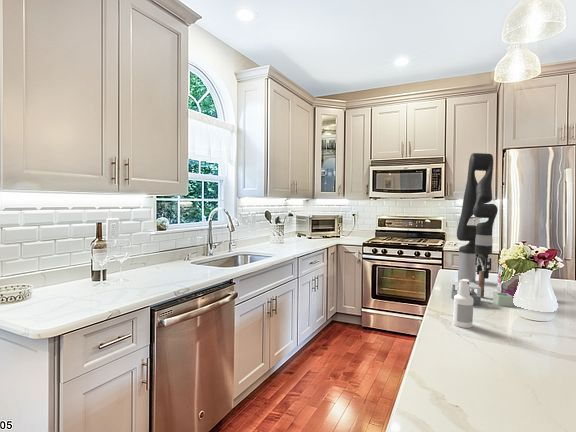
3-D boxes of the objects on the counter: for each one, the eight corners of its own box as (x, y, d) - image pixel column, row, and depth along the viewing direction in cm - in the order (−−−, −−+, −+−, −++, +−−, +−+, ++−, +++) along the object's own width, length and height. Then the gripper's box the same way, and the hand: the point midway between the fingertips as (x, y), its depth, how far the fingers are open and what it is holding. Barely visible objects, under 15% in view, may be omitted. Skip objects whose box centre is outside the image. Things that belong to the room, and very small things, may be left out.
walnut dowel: (477, 296, 179) (478, 270, 178) (482, 296, 178) (483, 271, 178) (479, 297, 176) (480, 271, 176) (484, 298, 176) (485, 272, 175)
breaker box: (451, 297, 176) (451, 281, 175) (472, 298, 174) (473, 282, 174) (457, 303, 166) (458, 286, 166) (480, 305, 165) (481, 287, 164)
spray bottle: (464, 329, 135) (466, 282, 134) (449, 323, 141) (451, 278, 140) (476, 326, 138) (478, 280, 137) (460, 320, 144) (462, 277, 143)
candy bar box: (501, 296, 179) (502, 264, 178) (496, 293, 184) (498, 262, 183) (524, 297, 178) (526, 265, 177) (519, 294, 183) (521, 263, 181)
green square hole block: (493, 301, 170) (493, 292, 170) (506, 302, 169) (507, 293, 169) (498, 305, 164) (498, 295, 164) (512, 306, 163) (512, 296, 163)
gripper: (470, 242, 183) (469, 273, 184) (480, 245, 169) (479, 279, 170) (486, 242, 182) (485, 273, 183) (498, 246, 168) (496, 280, 169)
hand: (482, 276), depth 176 cm, fingers open, 8 cm apart
